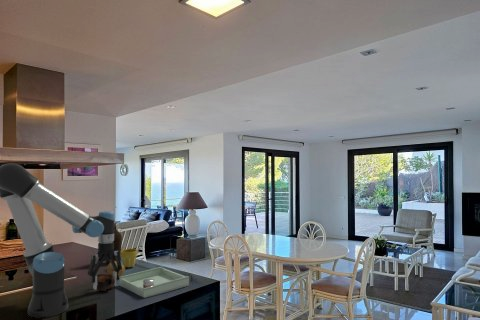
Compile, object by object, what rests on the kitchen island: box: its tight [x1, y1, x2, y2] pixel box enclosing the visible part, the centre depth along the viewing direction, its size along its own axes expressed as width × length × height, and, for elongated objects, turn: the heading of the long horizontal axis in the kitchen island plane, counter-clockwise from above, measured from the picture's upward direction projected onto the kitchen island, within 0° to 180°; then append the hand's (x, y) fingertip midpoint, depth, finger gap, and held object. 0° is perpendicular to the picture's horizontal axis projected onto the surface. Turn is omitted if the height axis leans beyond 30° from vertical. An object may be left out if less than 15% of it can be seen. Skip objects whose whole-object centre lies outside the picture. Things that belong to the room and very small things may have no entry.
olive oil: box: [105, 223, 123, 264], centre depth 225 cm, size 11×11×25 cm
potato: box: [106, 261, 126, 278], centre depth 192 cm, size 10×14×8 cm
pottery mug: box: [94, 273, 115, 292], centre depth 171 cm, size 12×9×8 cm
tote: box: [118, 266, 190, 299], centre depth 177 cm, size 26×26×5 cm
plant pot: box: [121, 248, 138, 268], centre depth 214 cm, size 10×10×10 cm
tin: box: [143, 279, 154, 288], centre depth 165 cm, size 5×5×6 cm
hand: (104, 286), depth 169 cm, fingers closed on pottery mug, 9 cm apart
